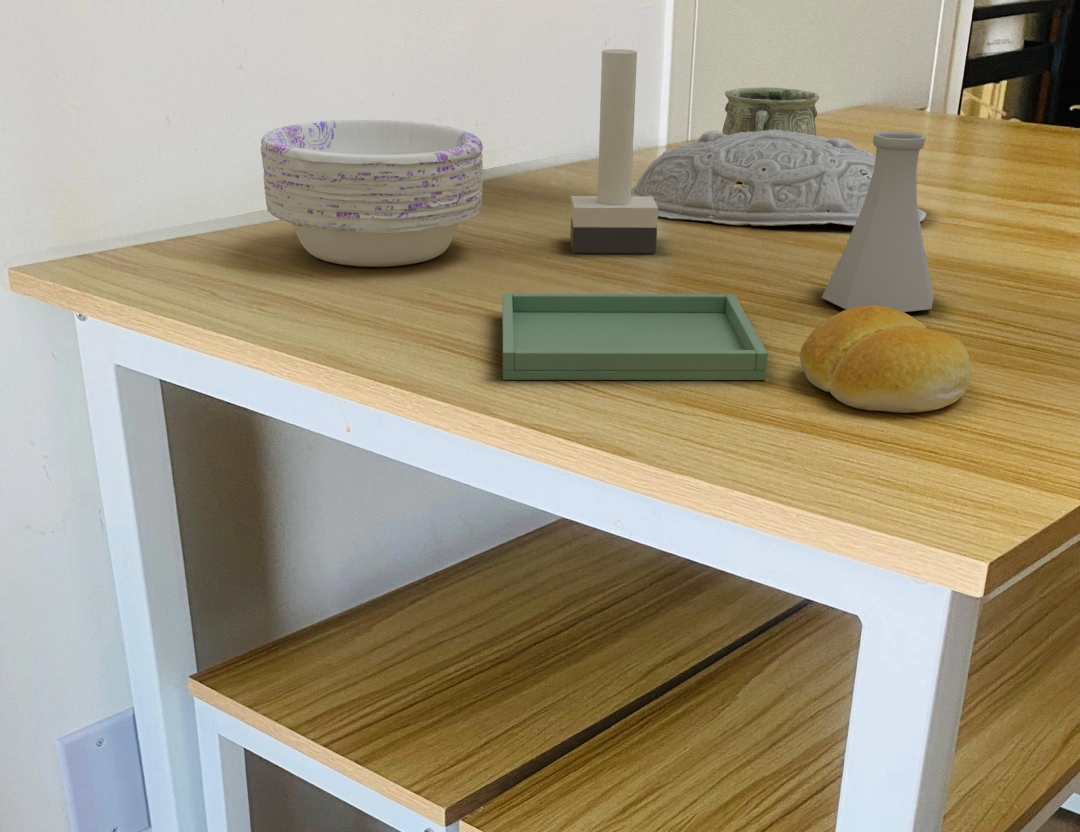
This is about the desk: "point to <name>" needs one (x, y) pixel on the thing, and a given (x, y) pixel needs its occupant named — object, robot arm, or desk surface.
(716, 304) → the tray
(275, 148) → the paper bowls
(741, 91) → the vessel
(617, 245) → the brush
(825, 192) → the grey carved stone ornament
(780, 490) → the desk surface
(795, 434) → the desk surface
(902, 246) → the flask
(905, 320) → the bread roll
